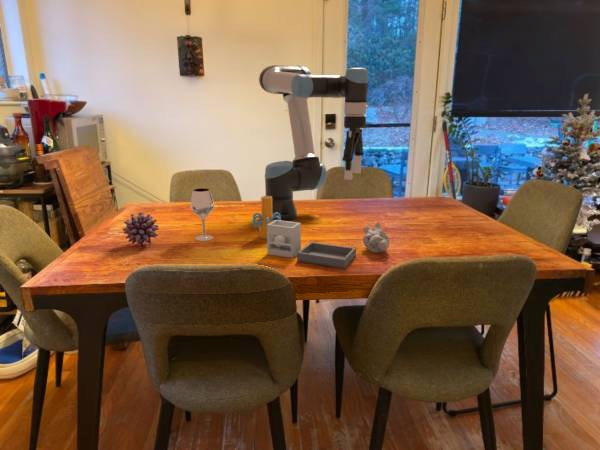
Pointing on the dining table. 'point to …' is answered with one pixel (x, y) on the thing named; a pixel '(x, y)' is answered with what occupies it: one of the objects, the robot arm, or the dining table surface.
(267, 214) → the orange and blue piece
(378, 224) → the figurine
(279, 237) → the ball
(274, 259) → the dining table surface
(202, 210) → the wineglass
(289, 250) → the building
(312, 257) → the tray
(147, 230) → the purple spiky ball
